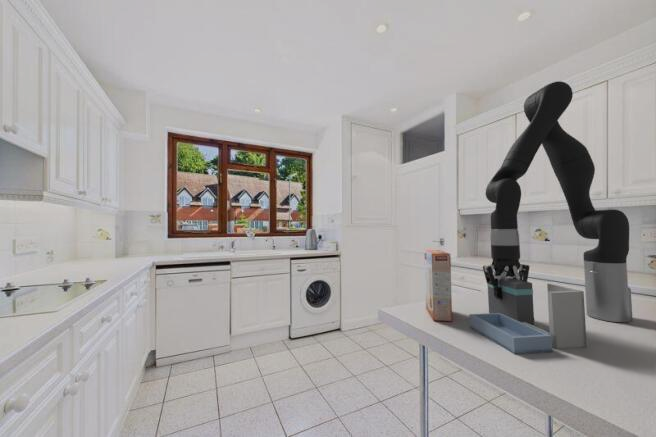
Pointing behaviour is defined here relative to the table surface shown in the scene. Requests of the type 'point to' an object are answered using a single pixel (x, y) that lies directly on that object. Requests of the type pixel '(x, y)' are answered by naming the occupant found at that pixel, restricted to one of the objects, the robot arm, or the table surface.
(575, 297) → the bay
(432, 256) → the cracker box
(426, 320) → the table surface
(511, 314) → the teal-striped grey block
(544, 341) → the tray
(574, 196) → the robot arm
